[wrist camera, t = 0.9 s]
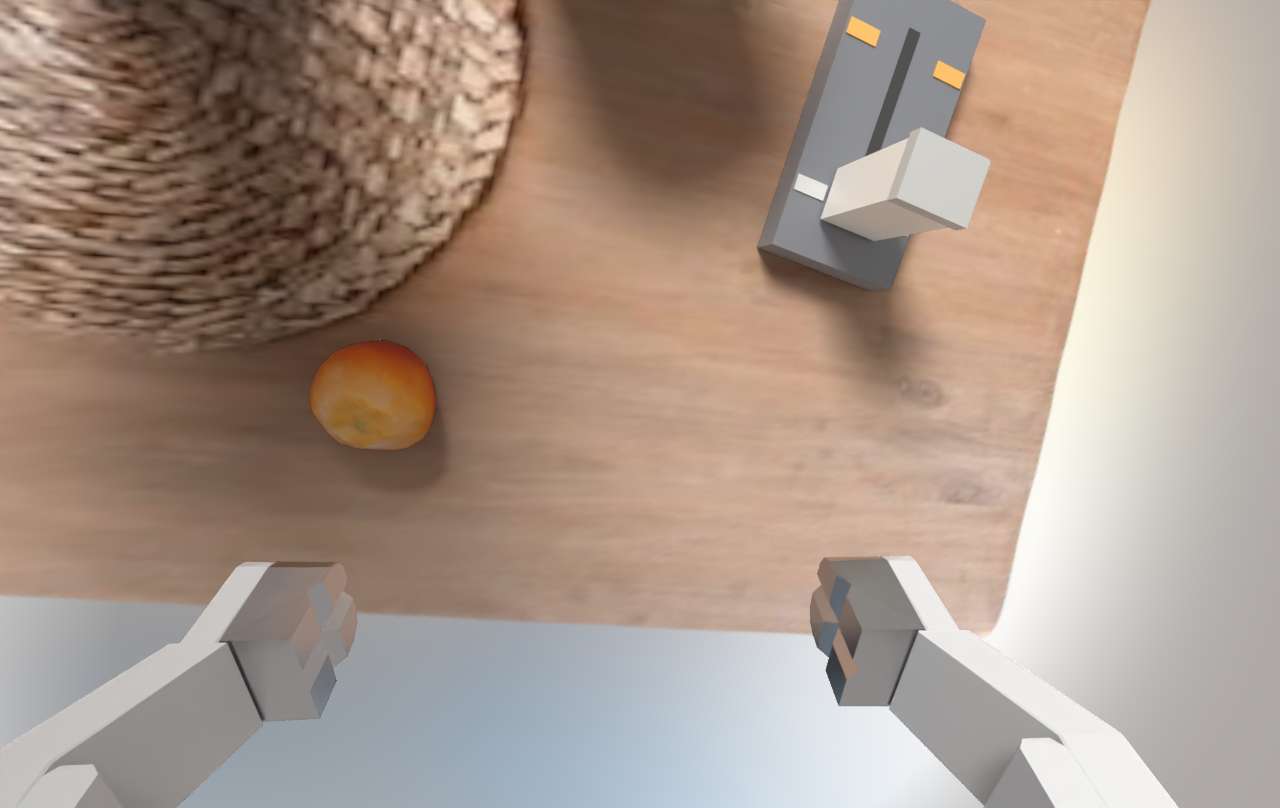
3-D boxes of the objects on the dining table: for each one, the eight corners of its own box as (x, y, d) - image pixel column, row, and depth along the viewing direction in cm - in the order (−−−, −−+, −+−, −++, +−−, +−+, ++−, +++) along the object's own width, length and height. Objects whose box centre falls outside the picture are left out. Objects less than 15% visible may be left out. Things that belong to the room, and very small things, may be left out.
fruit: (466, 339, 45) (434, 405, 38) (439, 414, 49) (406, 484, 43) (356, 295, 43) (302, 356, 36) (338, 377, 47) (287, 445, 41)
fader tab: (875, 244, 48) (966, 228, 38) (817, 220, 47) (896, 197, 37) (894, 190, 48) (991, 160, 38) (836, 165, 46) (921, 127, 37)
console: (869, 291, 52) (891, 289, 49) (757, 247, 50) (772, 243, 47) (958, 36, 50) (987, 19, 47) (847, -23, 48) (869, -45, 45)
